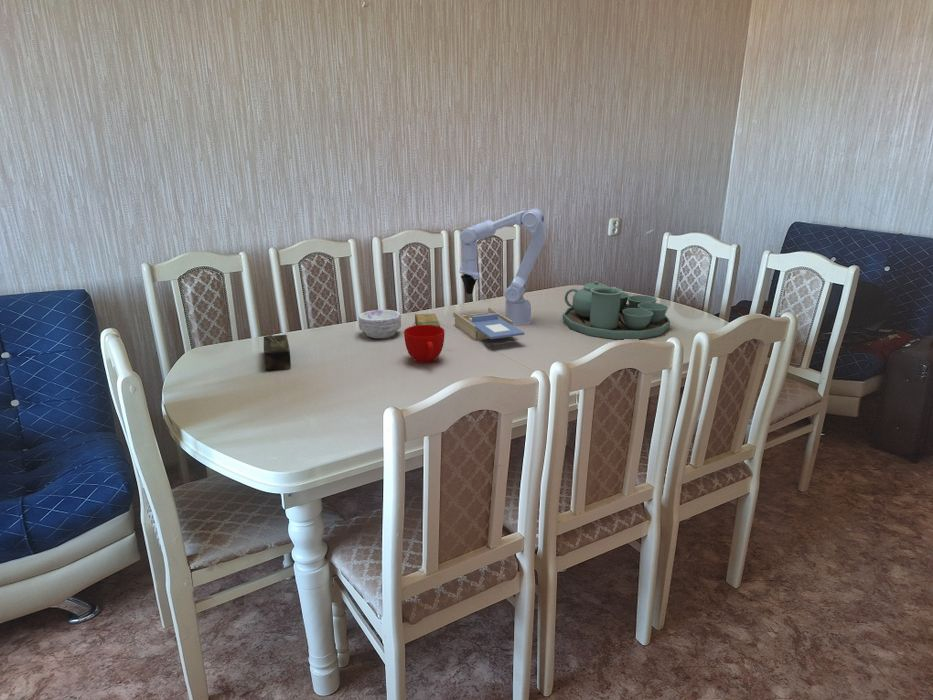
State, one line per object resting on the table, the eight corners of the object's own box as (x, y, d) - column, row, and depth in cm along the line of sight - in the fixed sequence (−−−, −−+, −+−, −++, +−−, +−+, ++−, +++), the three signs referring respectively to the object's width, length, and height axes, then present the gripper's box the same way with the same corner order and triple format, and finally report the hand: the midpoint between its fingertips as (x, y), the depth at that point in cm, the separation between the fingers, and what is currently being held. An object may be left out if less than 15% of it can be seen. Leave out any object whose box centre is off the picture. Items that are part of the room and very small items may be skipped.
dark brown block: (289, 350, 204) (287, 332, 202) (292, 370, 187) (290, 350, 185) (264, 352, 202) (262, 334, 200) (265, 373, 185) (262, 353, 183)
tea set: (683, 340, 214) (689, 296, 209) (571, 340, 214) (574, 295, 209) (651, 310, 252) (655, 271, 246) (556, 310, 252) (558, 271, 246)
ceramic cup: (411, 373, 184) (410, 342, 181) (401, 355, 199) (400, 326, 196) (452, 369, 187) (451, 338, 184) (439, 351, 203) (439, 323, 199)
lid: (498, 319, 224) (499, 312, 223) (524, 334, 206) (524, 326, 205) (467, 323, 219) (467, 315, 218) (490, 339, 202) (490, 331, 201)
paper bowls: (379, 326, 230) (378, 306, 227) (409, 333, 222) (409, 312, 219) (350, 336, 218) (349, 315, 215) (382, 344, 210) (381, 322, 207)
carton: (436, 323, 235) (435, 312, 233) (441, 336, 220) (441, 325, 218) (414, 324, 233) (414, 313, 232) (418, 337, 218) (418, 325, 217)
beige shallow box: (489, 322, 235) (489, 307, 233) (512, 336, 218) (513, 321, 216) (453, 326, 229) (453, 311, 227) (474, 342, 212) (474, 326, 210)
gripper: (452, 256, 236) (453, 290, 240) (467, 263, 223) (467, 298, 228) (469, 255, 238) (469, 288, 243) (484, 262, 226) (484, 297, 230)
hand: (469, 293), depth 235 cm, fingers closed
